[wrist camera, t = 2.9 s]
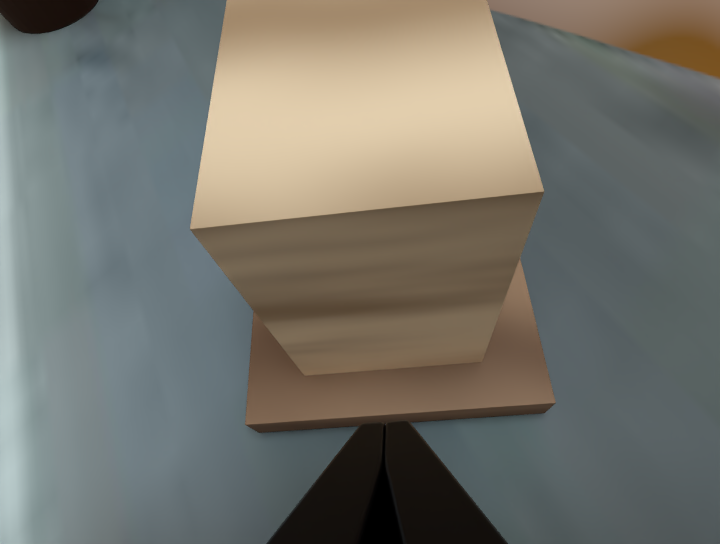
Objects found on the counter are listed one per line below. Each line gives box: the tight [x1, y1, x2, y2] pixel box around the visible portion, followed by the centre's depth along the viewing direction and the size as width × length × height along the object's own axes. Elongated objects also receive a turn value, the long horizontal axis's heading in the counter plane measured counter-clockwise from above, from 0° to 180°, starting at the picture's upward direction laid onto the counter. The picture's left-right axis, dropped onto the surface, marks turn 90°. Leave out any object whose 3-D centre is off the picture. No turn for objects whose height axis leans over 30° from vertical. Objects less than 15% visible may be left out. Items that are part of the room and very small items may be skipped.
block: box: [190, 0, 544, 376], centre depth 14 cm, size 10×6×9 cm, turn 3°
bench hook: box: [245, 259, 556, 433], centre depth 17 cm, size 16×10×6 cm, turn 3°
